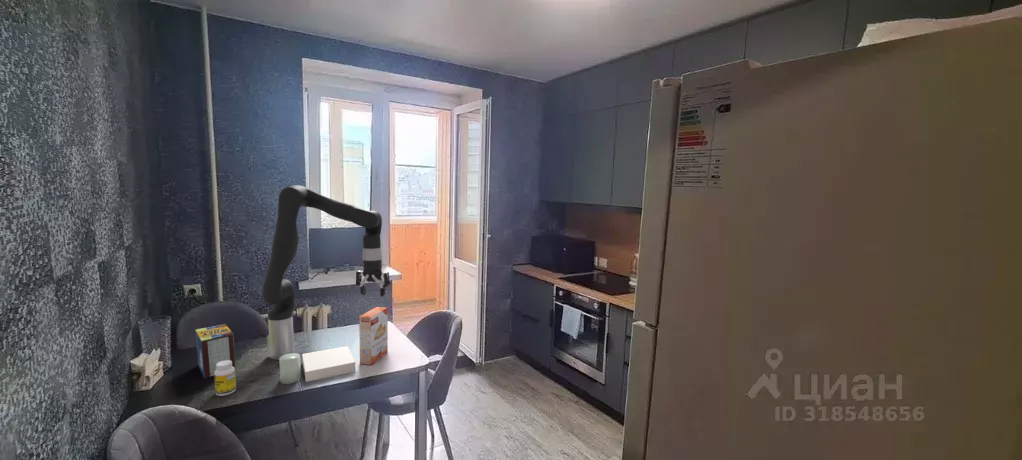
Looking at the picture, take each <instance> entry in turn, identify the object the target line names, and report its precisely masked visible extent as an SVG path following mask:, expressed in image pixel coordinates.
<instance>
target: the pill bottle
mask: <svg viewBox="0 0 1022 460" xmlns="http://www.w3.org/2000/svg"><path fill="white" fill-rule="evenodd" d="M216 369H217V370H215V372H214V376H213V378H214V390H215V391H214V392H215V395H216V396H219V397H223V396H228V395H231V394H233V393H234V392H235V391H236V390H237V382H236V381H237V378H236V371H235V368H234V367H233V366H232V361H230V360H225V361H221V362H218V363H217V364H216Z"/></svg>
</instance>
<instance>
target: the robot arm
mask: <svg viewBox="0 0 1022 460" xmlns="http://www.w3.org/2000/svg"><path fill="white" fill-rule="evenodd" d="M277 206H278V208H277V219H276V224H275V230H274V235H273V239H272V241H273V242H272V247H271V254H270V258H269V263H268V267H267V268H268V269H267V272H266V276H265V279H264V283H263V285H262V289H261V290H262V291H261V296H262V299H263V301H264V302H265V304H266V305H274V306H273V307H272V308H271V309H270V310H268V313H267V321H268V323H267V324H268V325H267V326H268V335H267V336H266V342H267V344H266V346H267V356H268V358H269V359H272V360H279V358H280V357H281V356H283V355H286V354H290V353H295V339H294V336H295V335H294V317H293V316H294V315H293V313H294V311H295V288H294V285H293V283H292V282H291V281H290V280H289V279H285V278H284V276H285V274H286V271H287V270H288V268H289V267H290V266H291V265H292V263H293V261H294V259H295V258H296V256H297V254H298V253H297V252H298V248H299V243H300V241H299V239H300V237H299V236H300V235H299V232H298V227H297V219H298V216H299V211H300V208H302V207H306V208H313V209H316V210H319V211H322V212H323V213H326V214H328V215H329V216H331V217H333V218H337V219H339V220H343V221H346V222H350V223H353V224H355V225H357V226H360V227H361V228H365V229H364V231H365V232H364V234H363V236H362V269H363V270H362V269H360V270H357V271H355V285H357V286H359V287H360V294H361V296H365V295H366V294H367V292H366V284H367V283H376V284H377V285H378V286H379V287H380V289H379V293H380V294H379V295H380V297H381V298H382V297H384V296H385V294H386V288H387V287H389V286H390V285H391V283H390V273H389V271H386V272H383V271H382V269H383V268H382V265H383V264H382V263H383V262H382V259H383V258H382V257H383V256H382V248H381V247H382V244H381V243H382V241H381V233H382V224H383V220H382V219H383V218H382V215H381V214H380V212H379V211H377V210H374V209H373V210H366V209H362V208H359V207H358V206H357V205H355V204H351V203H348V202H344V201H340V200H338V199H334V198H332V197H331V198H330V197H328V196H325V195H323V194H320V193H318V192H315V191H314V190H311V189H309V188H307V187H305V186H302V185H299V184H294V185H289V186H286V187H284V188H282V189H281V191H280V192H279V195H278V205H277ZM362 277H364V278H363V279H362Z"/></svg>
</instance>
